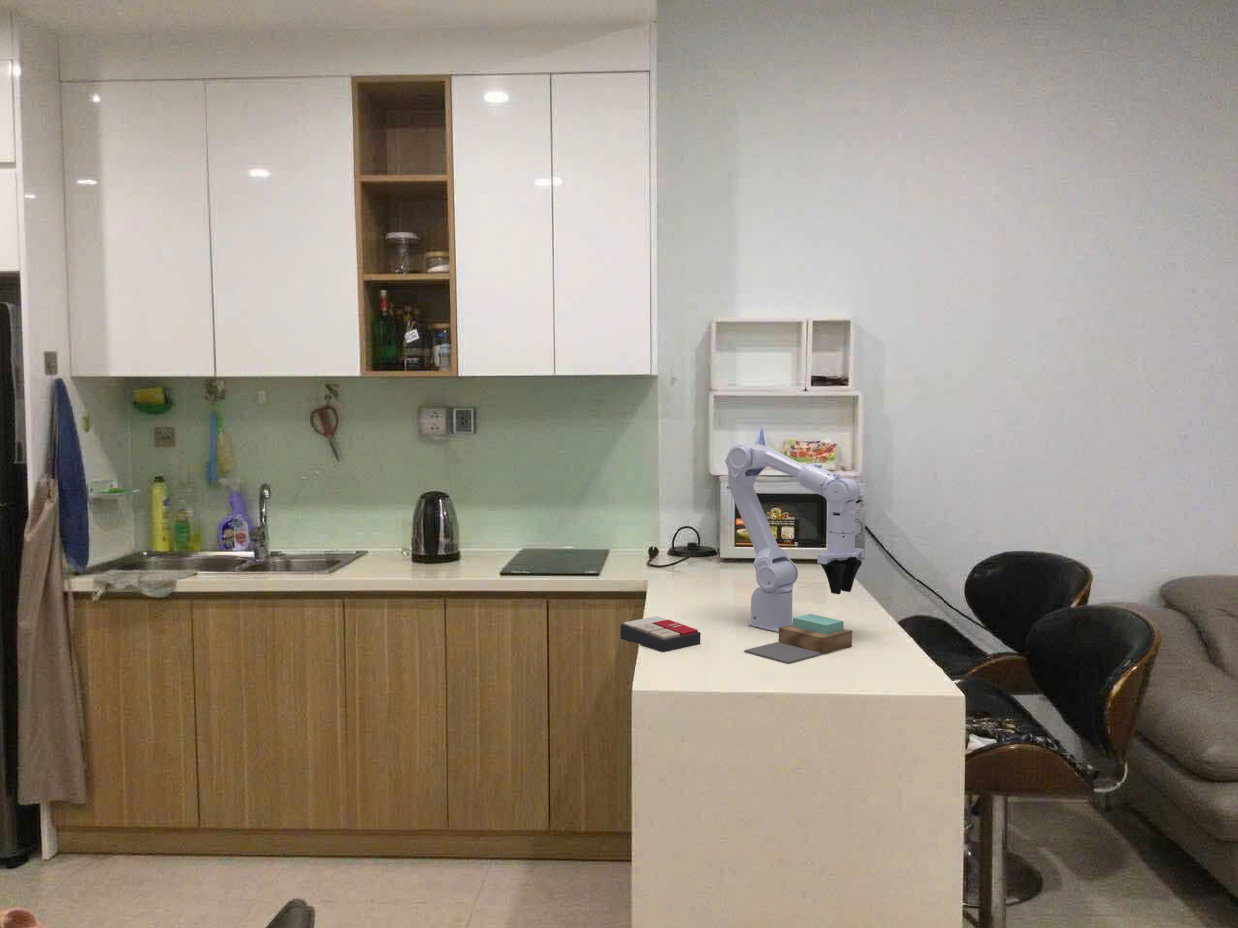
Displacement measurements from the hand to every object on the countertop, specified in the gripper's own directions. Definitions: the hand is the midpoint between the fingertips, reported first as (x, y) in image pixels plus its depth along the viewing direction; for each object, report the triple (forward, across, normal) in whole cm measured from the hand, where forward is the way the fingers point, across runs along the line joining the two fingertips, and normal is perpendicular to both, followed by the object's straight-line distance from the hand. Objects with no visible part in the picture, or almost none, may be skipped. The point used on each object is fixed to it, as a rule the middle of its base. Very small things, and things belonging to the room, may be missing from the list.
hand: (841, 592), depth 205 cm
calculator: (+11, -32, +24) cm, 42 cm away
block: (+6, -8, 0) cm, 10 cm away
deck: (+10, -9, 0) cm, 14 cm away
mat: (+10, -20, 0) cm, 22 cm away
